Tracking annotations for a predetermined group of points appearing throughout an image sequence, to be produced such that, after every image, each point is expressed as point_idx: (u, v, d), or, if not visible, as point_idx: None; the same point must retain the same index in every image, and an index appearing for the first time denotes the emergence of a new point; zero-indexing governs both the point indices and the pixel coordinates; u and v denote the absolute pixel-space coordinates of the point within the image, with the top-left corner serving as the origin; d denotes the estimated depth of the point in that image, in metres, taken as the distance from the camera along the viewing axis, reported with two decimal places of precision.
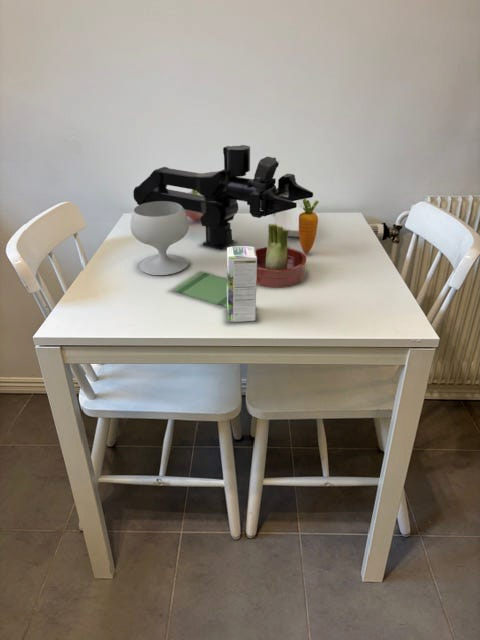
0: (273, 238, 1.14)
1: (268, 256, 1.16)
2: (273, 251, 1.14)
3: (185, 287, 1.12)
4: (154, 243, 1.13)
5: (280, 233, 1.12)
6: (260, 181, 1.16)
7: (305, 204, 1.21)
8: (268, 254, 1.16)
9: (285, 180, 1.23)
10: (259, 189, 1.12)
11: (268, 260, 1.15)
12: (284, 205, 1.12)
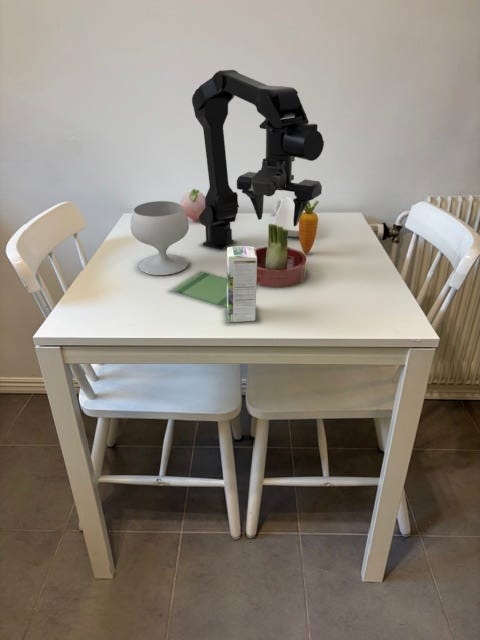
0: (273, 238, 1.14)
1: (268, 256, 1.16)
2: (273, 251, 1.14)
3: (185, 287, 1.12)
4: (154, 243, 1.13)
5: (280, 233, 1.12)
6: None
7: None
8: (268, 254, 1.16)
9: None
10: (244, 185, 1.08)
11: (268, 260, 1.15)
12: None
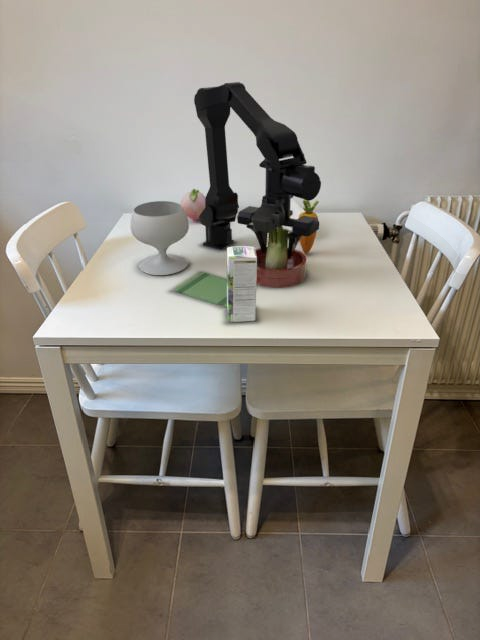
0: (273, 238, 1.14)
1: (268, 256, 1.16)
2: (273, 251, 1.14)
3: (185, 287, 1.12)
4: (154, 243, 1.13)
5: (280, 233, 1.12)
6: None
7: (305, 204, 1.21)
8: (268, 254, 1.16)
9: None
10: (245, 220, 1.12)
11: (268, 260, 1.15)
12: None
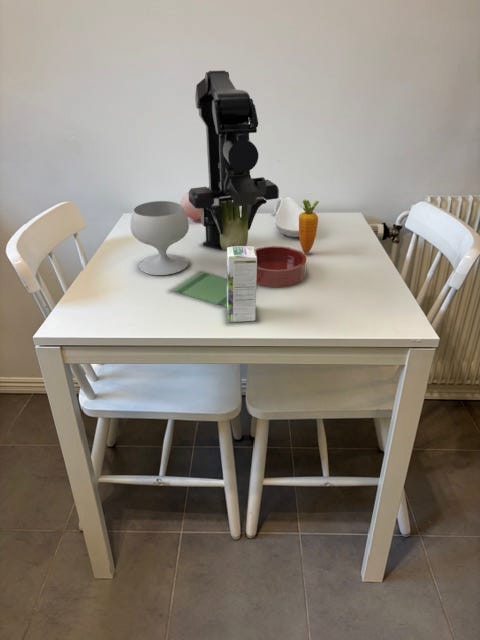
0: (229, 215, 1.05)
1: (229, 236, 1.06)
2: (234, 228, 1.05)
3: (185, 287, 1.12)
4: (154, 243, 1.13)
5: (238, 207, 1.04)
6: None
7: (305, 204, 1.21)
8: (227, 234, 1.06)
9: None
10: (207, 202, 0.98)
11: (231, 240, 1.06)
12: (216, 222, 1.05)
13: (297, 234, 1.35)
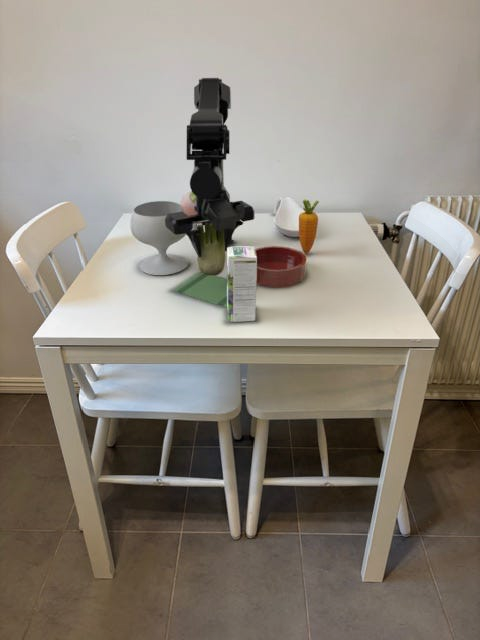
0: (207, 238, 1.05)
1: (207, 259, 1.06)
2: (211, 251, 1.06)
3: (185, 287, 1.12)
4: (154, 243, 1.13)
5: (215, 230, 1.04)
6: (206, 214, 0.98)
7: (305, 204, 1.21)
8: (206, 257, 1.06)
9: None
10: (186, 227, 0.98)
11: (210, 263, 1.06)
12: (194, 246, 1.04)
13: (297, 234, 1.35)
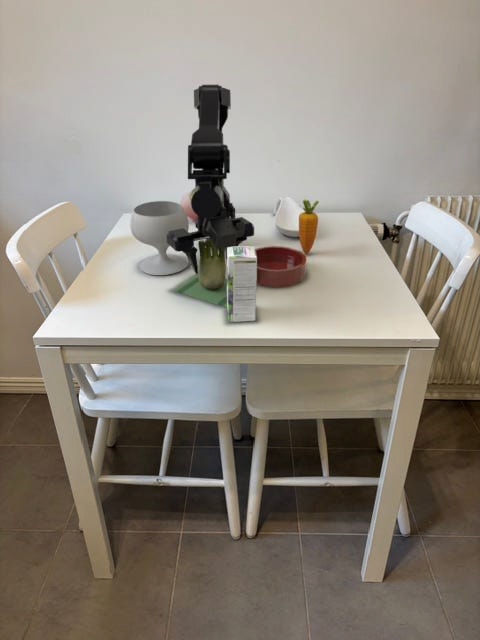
0: (208, 254, 1.07)
1: (208, 274, 1.08)
2: (212, 266, 1.08)
3: (185, 287, 1.12)
4: (154, 243, 1.13)
5: None
6: (206, 231, 1.00)
7: (305, 204, 1.21)
8: (206, 272, 1.08)
9: None
10: (187, 244, 0.99)
11: (211, 277, 1.08)
12: (191, 263, 1.06)
13: (297, 234, 1.35)
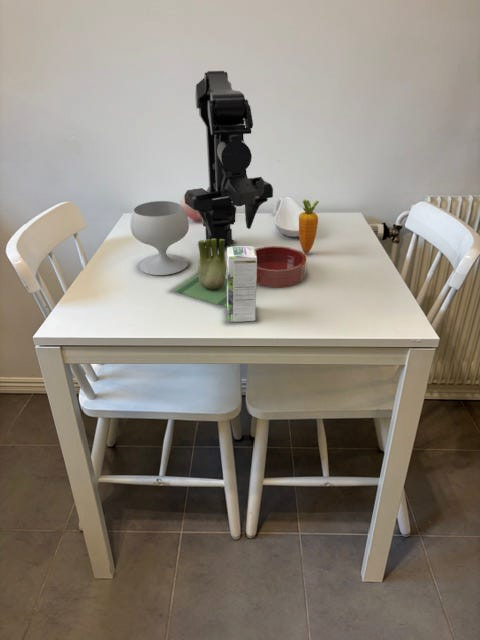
0: (208, 254, 1.07)
1: (208, 274, 1.08)
2: (212, 266, 1.08)
3: (185, 287, 1.12)
4: (154, 243, 1.13)
5: (215, 245, 1.06)
6: (225, 190, 0.98)
7: (305, 204, 1.21)
8: (206, 272, 1.08)
9: None
10: (206, 203, 0.98)
11: (211, 277, 1.08)
12: (206, 224, 1.04)
13: (297, 234, 1.35)
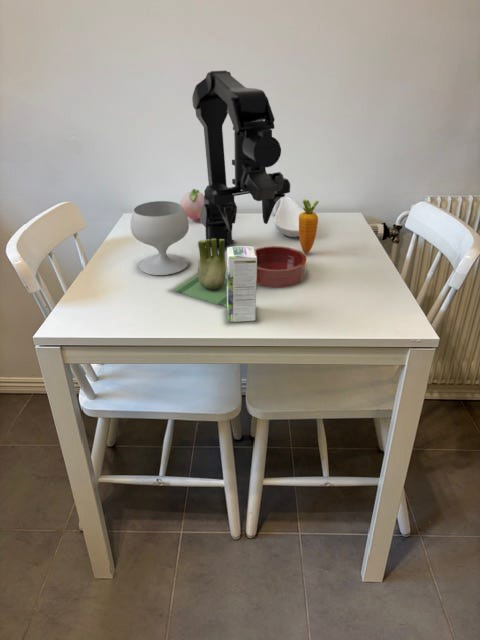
0: (208, 254, 1.07)
1: (208, 274, 1.08)
2: (212, 266, 1.08)
3: (185, 287, 1.12)
4: (154, 243, 1.13)
5: (215, 245, 1.06)
6: (245, 185, 1.00)
7: (305, 204, 1.21)
8: (206, 272, 1.08)
9: None
10: (226, 198, 1.00)
11: (211, 277, 1.08)
12: (225, 219, 1.06)
13: (297, 234, 1.35)
